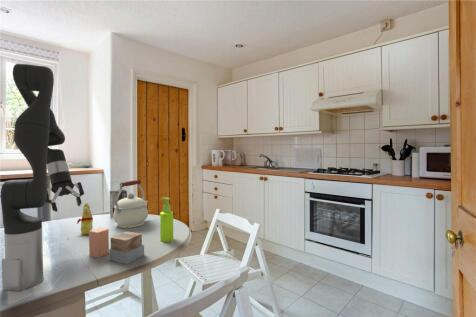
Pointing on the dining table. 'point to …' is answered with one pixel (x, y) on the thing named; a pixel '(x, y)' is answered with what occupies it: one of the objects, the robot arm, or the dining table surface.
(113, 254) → the tower base
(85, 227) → the chocolate bunny
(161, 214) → the soap dispenser
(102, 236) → the pillar
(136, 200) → the kettle
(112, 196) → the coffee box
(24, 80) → the robot arm
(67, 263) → the dining table surface
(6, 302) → the dining table surface
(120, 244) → the tower top
